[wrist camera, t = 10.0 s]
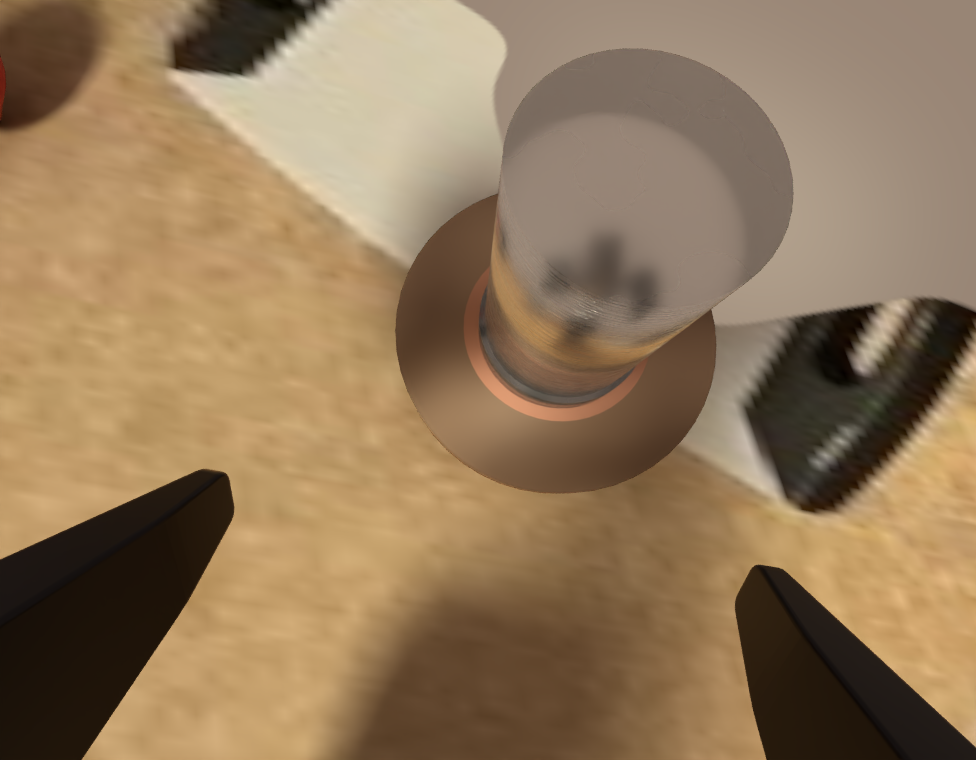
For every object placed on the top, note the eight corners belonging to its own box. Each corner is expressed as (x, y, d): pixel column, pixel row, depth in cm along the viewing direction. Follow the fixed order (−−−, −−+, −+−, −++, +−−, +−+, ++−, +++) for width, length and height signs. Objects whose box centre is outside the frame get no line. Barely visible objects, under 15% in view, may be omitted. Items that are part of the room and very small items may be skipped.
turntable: (729, 443, 22) (768, 436, 19) (448, 533, 20) (446, 539, 18) (627, 194, 25) (648, 156, 22) (373, 258, 23) (360, 225, 20)
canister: (628, 421, 19) (801, 342, 9) (465, 393, 19) (467, 286, 9) (642, 271, 20) (804, 68, 11) (491, 245, 20) (516, 18, 11)
